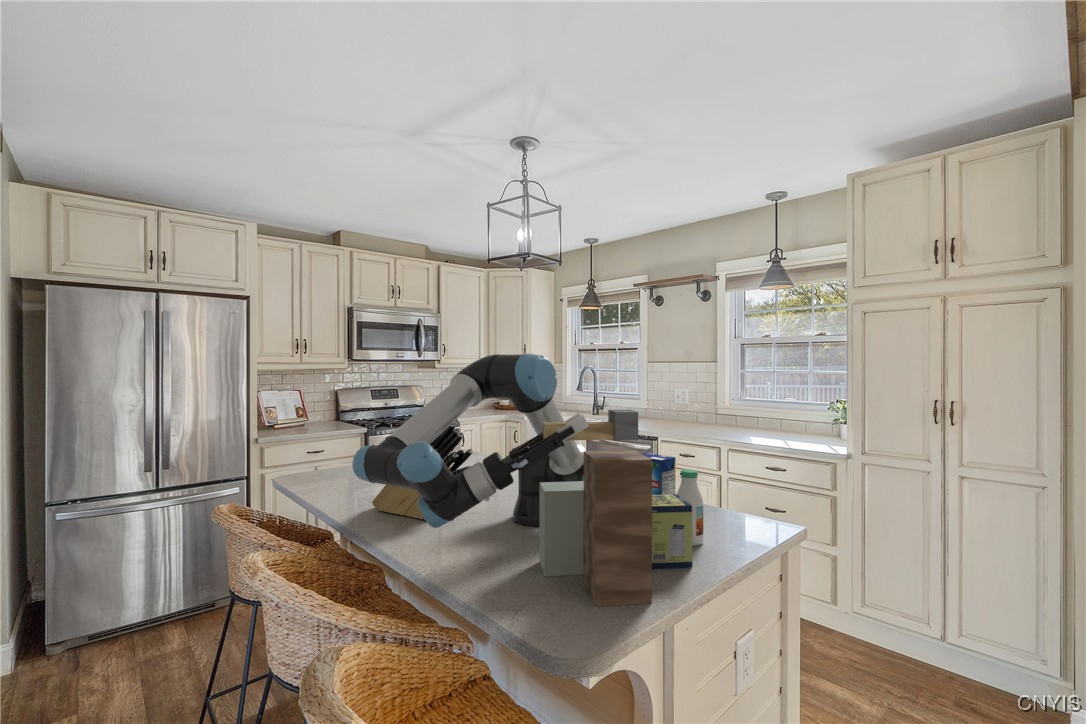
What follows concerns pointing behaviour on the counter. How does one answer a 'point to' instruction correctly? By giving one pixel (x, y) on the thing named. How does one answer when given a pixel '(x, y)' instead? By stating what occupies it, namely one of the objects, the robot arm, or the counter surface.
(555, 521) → the grey-green rectangular block
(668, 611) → the counter surface
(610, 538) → the stand
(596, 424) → the mallet
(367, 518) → the counter surface
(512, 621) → the counter surface
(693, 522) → the milk bottle
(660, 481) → the beverage box
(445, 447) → the knife block
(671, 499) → the protein box
